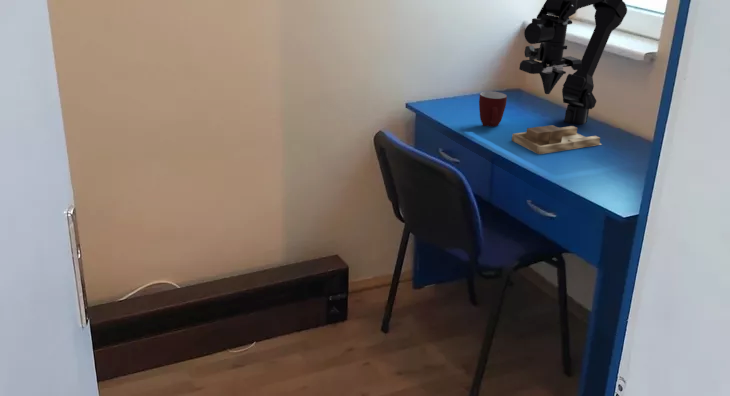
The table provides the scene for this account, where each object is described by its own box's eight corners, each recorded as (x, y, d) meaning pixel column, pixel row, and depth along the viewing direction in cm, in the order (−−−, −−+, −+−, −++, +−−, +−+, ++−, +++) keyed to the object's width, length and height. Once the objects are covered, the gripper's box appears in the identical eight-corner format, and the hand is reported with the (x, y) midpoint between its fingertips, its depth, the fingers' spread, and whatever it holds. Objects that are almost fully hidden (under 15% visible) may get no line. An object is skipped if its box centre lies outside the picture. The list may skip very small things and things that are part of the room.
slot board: (573, 134, 221) (574, 125, 220) (601, 147, 211) (603, 137, 210) (511, 143, 211) (512, 133, 210) (538, 157, 201) (539, 147, 200)
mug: (509, 133, 219) (513, 101, 215) (482, 133, 218) (486, 101, 214) (498, 122, 229) (502, 91, 225) (473, 122, 228) (476, 91, 224)
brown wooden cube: (537, 141, 210) (539, 126, 209) (547, 146, 207) (550, 131, 205) (525, 143, 208) (527, 128, 207) (535, 148, 205) (537, 133, 203)
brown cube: (550, 140, 212) (552, 125, 210) (560, 145, 209) (563, 129, 207) (538, 141, 210) (540, 126, 208) (548, 146, 207) (550, 131, 205)
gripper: (561, 33, 221) (553, 84, 227) (510, 36, 213) (504, 89, 219) (587, 41, 212) (578, 93, 218) (535, 44, 204) (528, 99, 210)
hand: (546, 93), depth 217 cm, fingers closed
